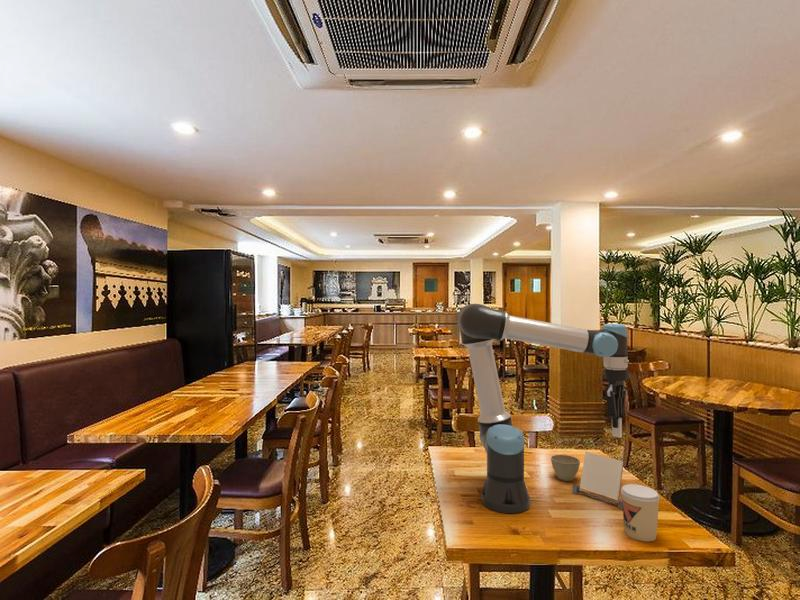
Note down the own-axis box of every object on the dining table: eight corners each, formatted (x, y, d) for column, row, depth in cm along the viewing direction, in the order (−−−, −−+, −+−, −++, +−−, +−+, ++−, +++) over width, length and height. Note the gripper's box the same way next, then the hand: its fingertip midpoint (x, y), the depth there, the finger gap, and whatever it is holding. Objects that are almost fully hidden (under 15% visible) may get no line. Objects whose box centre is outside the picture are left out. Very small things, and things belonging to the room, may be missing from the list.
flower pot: (584, 484, 154) (584, 464, 154) (556, 483, 154) (556, 463, 154) (573, 473, 164) (573, 454, 164) (547, 473, 164) (547, 454, 164)
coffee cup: (614, 526, 125) (614, 484, 125) (645, 524, 125) (645, 483, 126) (634, 543, 116) (633, 498, 116) (667, 542, 116) (667, 497, 116)
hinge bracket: (623, 510, 134) (623, 502, 134) (572, 492, 147) (572, 485, 147) (626, 508, 136) (626, 500, 136) (575, 491, 148) (575, 484, 148)
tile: (618, 500, 137) (616, 499, 137) (581, 488, 146) (579, 487, 146) (623, 461, 140) (621, 460, 139) (587, 451, 149) (585, 451, 148)
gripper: (619, 371, 144) (620, 443, 144) (634, 367, 152) (635, 434, 152) (596, 369, 149) (597, 438, 149) (612, 365, 158) (613, 430, 158)
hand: (616, 436), depth 151 cm, fingers closed
